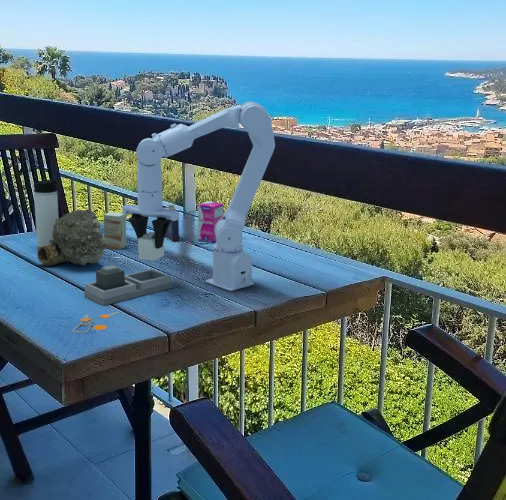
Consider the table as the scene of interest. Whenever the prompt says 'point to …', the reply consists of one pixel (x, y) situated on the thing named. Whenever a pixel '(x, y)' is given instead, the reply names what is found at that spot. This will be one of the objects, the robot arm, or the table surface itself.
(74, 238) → the grey brown rough lump
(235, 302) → the table surface
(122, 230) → the skincare box
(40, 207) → the travel mug
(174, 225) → the flask
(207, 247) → the table surface
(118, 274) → the twin plug
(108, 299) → the socket strip
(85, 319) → the key chain
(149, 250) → the grey plug
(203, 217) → the supplement box
